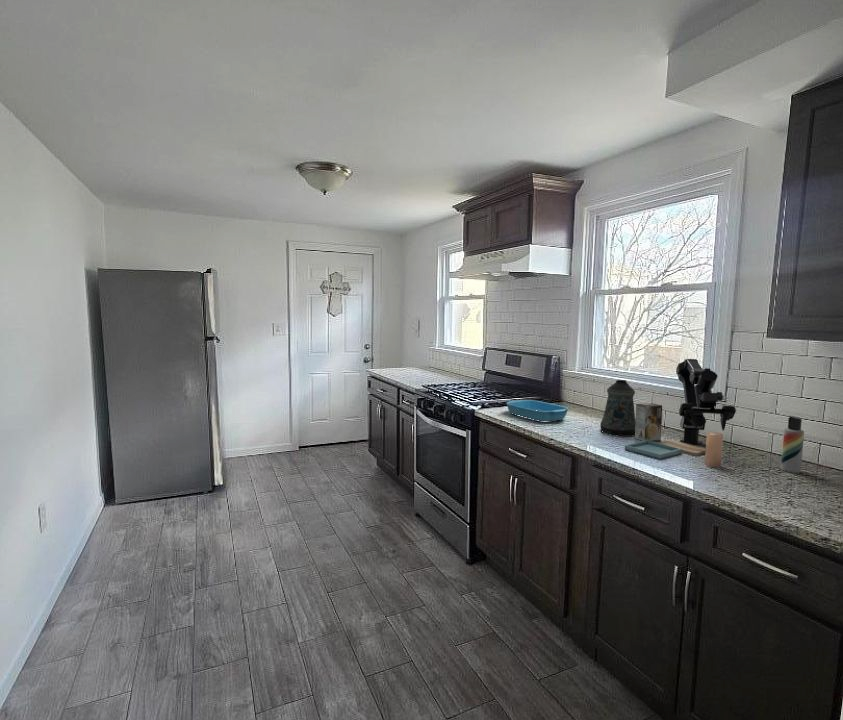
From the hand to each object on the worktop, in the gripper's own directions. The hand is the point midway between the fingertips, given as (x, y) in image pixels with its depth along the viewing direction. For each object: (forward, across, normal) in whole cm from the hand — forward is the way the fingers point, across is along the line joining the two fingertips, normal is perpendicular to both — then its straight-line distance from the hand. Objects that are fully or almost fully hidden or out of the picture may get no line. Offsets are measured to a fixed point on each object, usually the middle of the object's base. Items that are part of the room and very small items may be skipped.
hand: (709, 429), depth 181 cm
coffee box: (-10, -18, +28) cm, 34 cm away
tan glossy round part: (+13, 0, +4) cm, 14 cm away
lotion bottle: (+12, +25, +6) cm, 29 cm away
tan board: (-1, -6, +19) cm, 20 cm away
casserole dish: (-32, -69, +50) cm, 92 cm away
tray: (+5, -19, +12) cm, 23 cm away
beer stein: (-18, -29, +35) cm, 49 cm away
